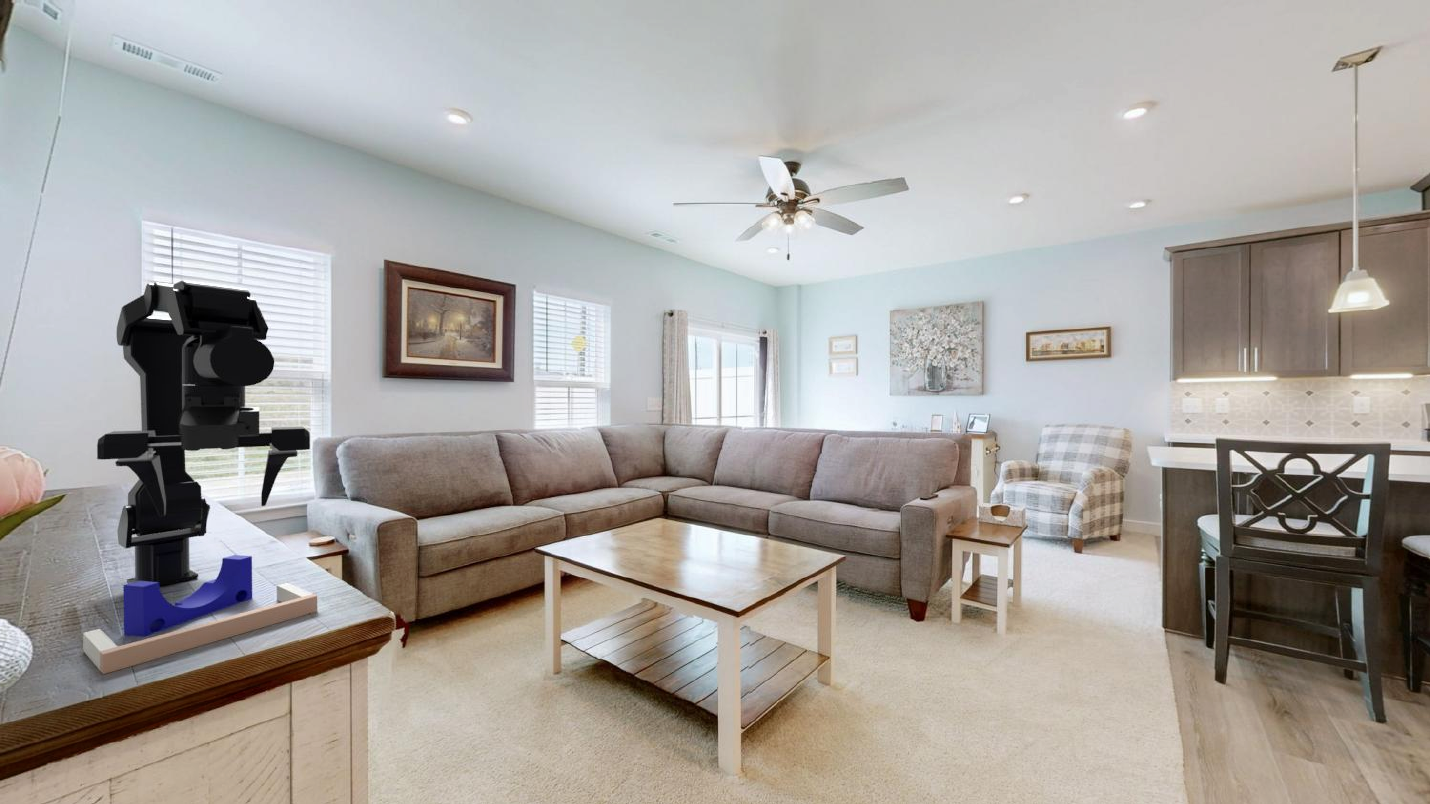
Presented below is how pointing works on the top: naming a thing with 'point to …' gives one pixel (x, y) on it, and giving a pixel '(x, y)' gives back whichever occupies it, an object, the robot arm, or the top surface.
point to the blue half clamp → (156, 614)
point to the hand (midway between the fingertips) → (215, 510)
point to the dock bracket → (196, 632)
